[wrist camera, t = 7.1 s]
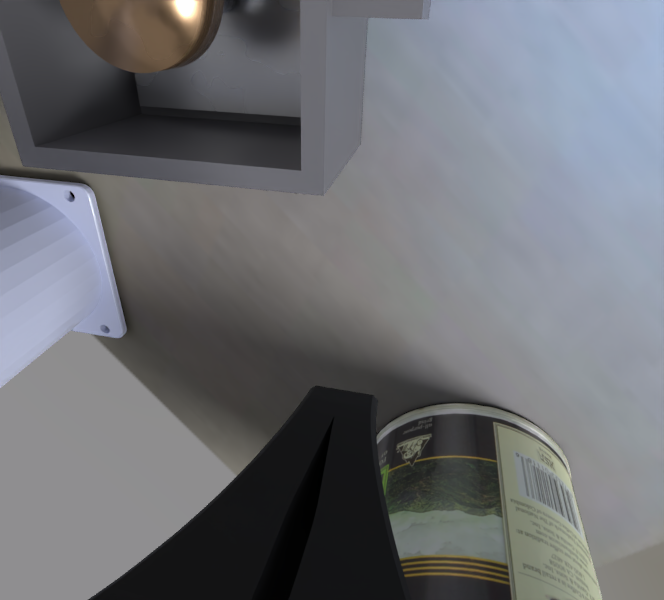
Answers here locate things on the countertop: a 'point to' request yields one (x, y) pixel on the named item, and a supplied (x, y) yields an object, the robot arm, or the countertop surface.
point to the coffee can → (483, 507)
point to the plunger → (200, 51)
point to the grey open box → (184, 124)
